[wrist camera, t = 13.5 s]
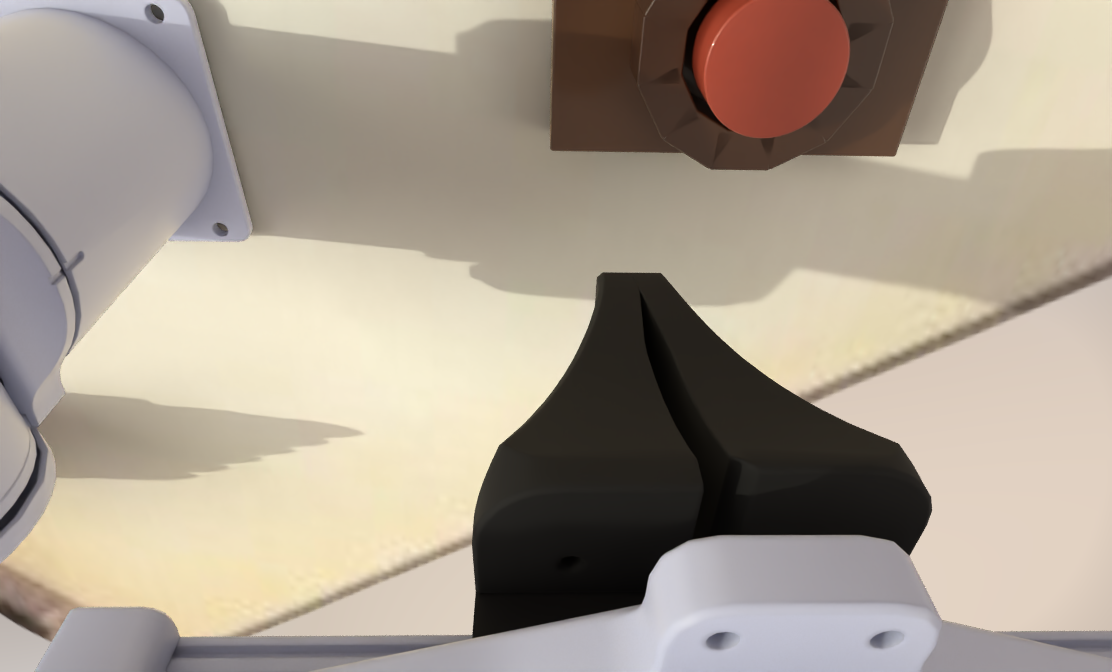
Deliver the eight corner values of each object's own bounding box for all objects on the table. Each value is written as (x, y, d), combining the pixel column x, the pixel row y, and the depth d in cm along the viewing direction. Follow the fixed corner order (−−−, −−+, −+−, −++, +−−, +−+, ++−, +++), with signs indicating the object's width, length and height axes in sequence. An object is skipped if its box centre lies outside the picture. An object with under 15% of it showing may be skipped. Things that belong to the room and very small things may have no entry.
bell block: (549, 131, 23) (551, 175, 20) (554, -122, 18) (557, -111, 16) (874, 137, 23) (921, 181, 20) (953, -110, 19) (1025, -97, 16)
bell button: (682, 115, 19) (693, 137, 18) (702, -27, 17) (716, -14, 16) (808, 117, 19) (828, 140, 18) (843, -24, 17) (870, -10, 16)
